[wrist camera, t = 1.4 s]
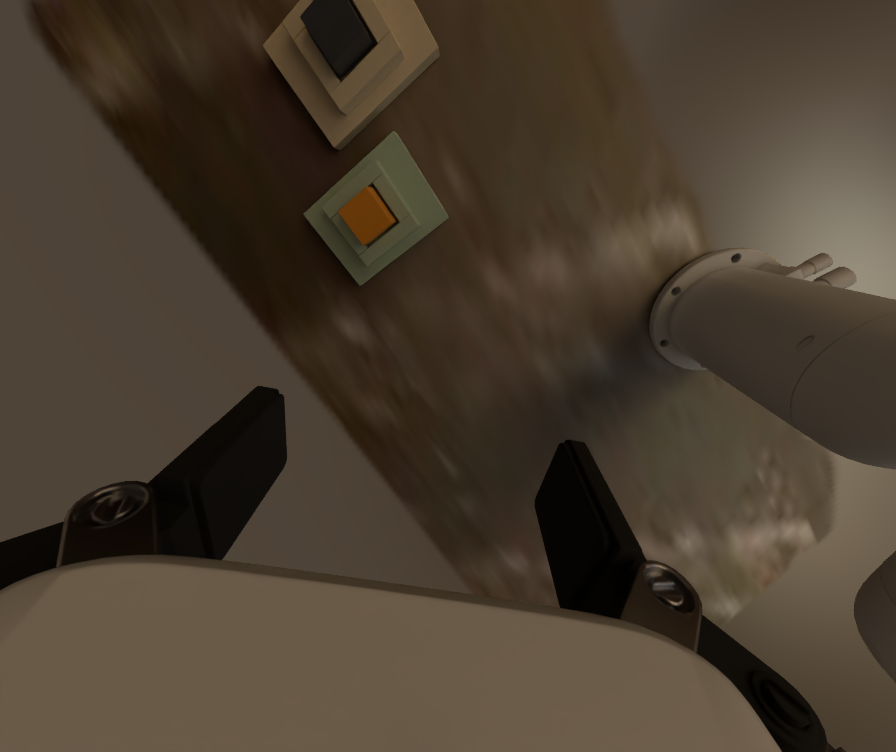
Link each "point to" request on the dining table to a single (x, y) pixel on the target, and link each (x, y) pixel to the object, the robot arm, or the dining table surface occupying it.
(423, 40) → the key block
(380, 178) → the key block
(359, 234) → the key
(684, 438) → the dining table surface
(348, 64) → the key
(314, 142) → the dining table surface
